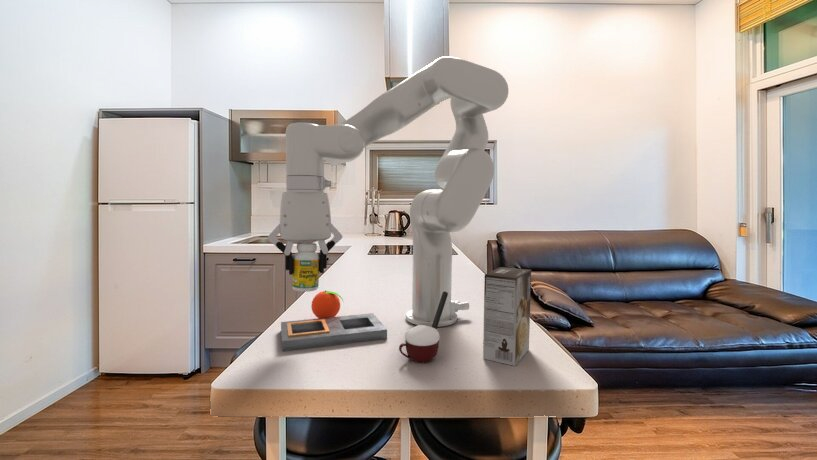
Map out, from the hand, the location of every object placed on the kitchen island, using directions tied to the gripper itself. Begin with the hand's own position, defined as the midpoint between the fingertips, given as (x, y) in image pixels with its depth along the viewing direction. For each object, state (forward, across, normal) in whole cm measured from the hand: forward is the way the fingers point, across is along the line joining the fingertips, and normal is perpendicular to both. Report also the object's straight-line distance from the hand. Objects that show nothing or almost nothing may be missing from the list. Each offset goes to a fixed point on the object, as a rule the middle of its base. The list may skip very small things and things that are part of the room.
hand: (306, 271), depth 79 cm
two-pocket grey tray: (+14, -6, 0) cm, 15 cm away
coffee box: (+14, -35, +21) cm, 43 cm away
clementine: (+14, -6, -11) cm, 19 cm away
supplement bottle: (+4, 0, 0) cm, 4 cm away
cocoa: (+14, -20, +18) cm, 30 cm away
